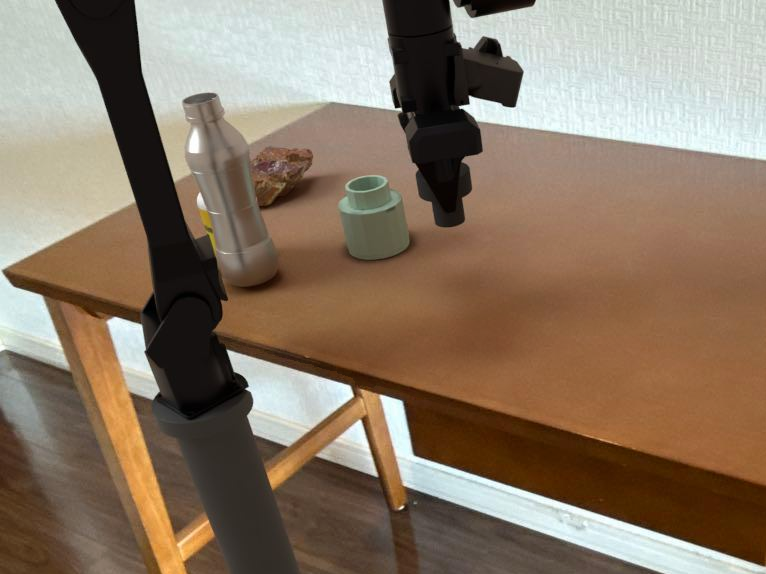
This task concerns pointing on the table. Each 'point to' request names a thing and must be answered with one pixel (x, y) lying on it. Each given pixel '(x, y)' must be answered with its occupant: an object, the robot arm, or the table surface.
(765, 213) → the table surface
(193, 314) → the robot arm
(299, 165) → the mineral specimen
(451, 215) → the stopper
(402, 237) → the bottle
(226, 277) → the plastic bottle
